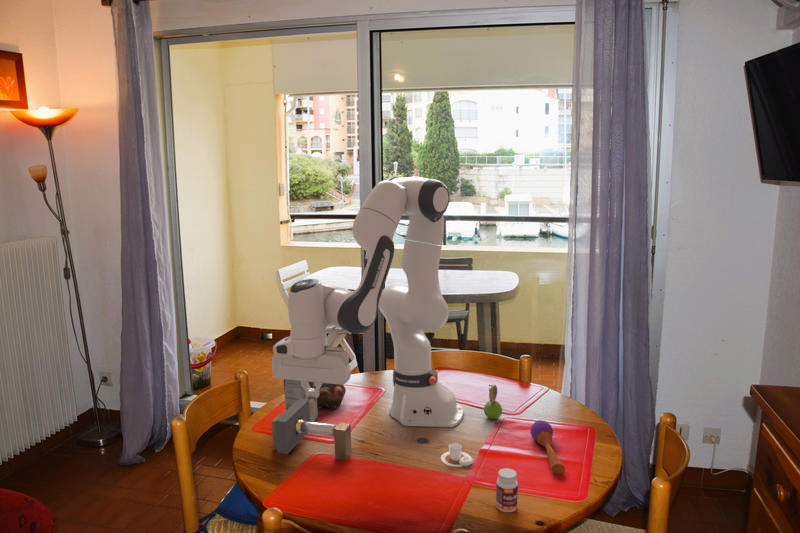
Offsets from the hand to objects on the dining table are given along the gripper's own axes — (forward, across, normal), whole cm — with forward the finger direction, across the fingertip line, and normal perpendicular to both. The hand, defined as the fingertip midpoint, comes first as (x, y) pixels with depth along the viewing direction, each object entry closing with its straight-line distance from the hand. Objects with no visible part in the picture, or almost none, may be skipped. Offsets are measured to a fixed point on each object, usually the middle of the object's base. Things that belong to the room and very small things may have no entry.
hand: (312, 396), depth 149 cm
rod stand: (+18, +4, -4) cm, 19 cm away
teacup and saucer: (+20, -34, -8) cm, 40 cm away
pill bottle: (+19, -50, +7) cm, 53 cm away
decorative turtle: (+19, +10, -33) cm, 39 cm away
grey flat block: (+16, +9, -4) cm, 18 cm away
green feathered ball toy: (+20, -40, -36) cm, 58 cm away
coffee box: (+19, +14, -19) cm, 30 cm away
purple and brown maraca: (+20, -57, -19) cm, 64 cm away
